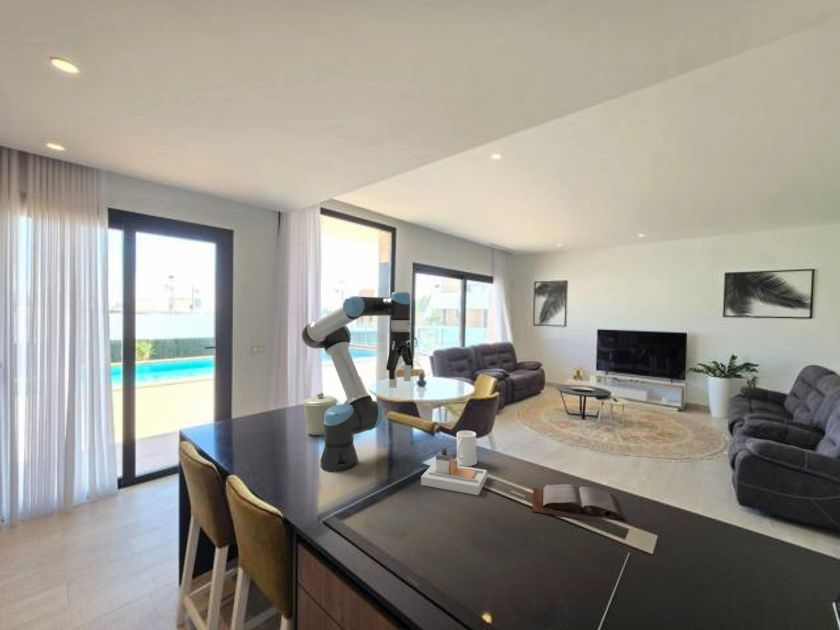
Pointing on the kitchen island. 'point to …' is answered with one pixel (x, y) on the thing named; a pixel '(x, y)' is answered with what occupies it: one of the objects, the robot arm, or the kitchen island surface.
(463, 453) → the mug
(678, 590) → the kitchen island surface
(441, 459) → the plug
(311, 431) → the canister
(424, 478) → the white tray
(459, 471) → the shutter
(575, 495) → the book
